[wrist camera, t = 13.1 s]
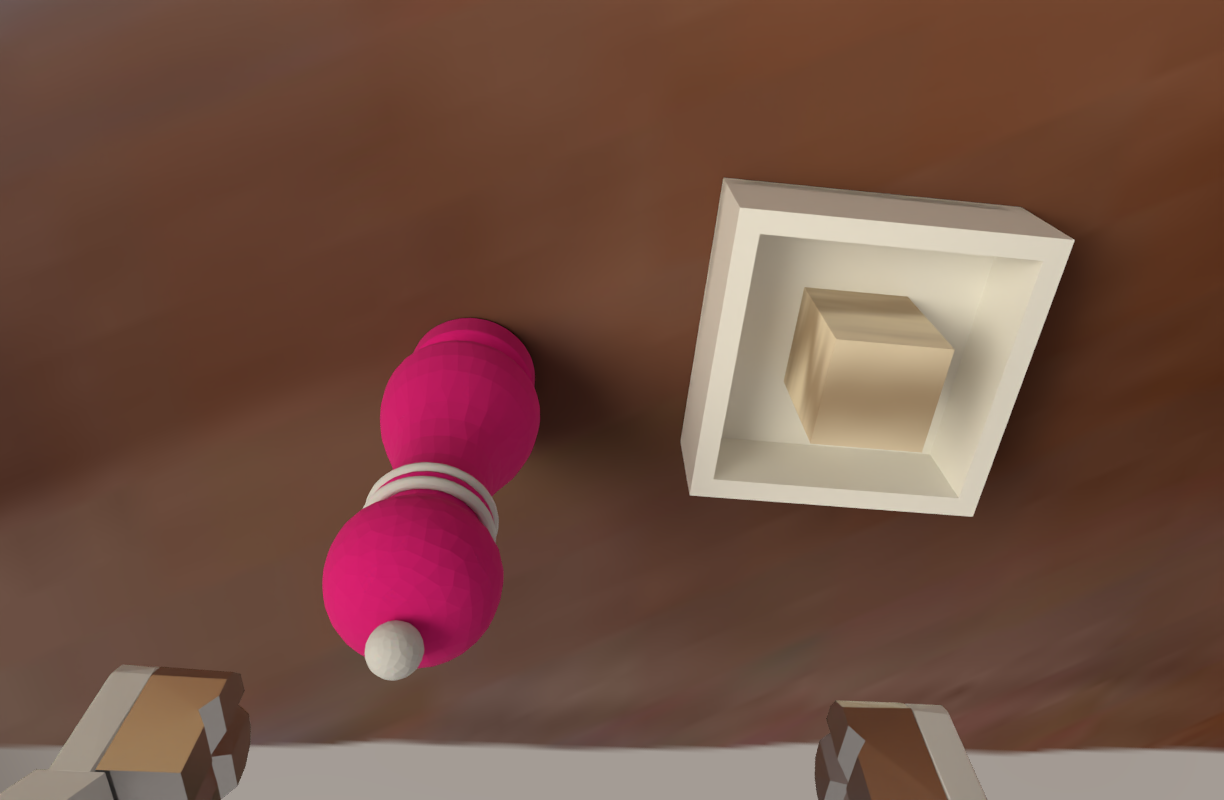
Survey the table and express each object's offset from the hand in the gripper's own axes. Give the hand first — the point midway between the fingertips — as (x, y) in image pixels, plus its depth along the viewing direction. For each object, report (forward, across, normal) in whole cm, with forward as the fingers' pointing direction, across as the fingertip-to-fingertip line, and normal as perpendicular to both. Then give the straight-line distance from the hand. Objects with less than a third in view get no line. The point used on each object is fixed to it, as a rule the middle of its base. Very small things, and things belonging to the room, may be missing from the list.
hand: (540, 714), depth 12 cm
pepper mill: (+30, +5, +11) cm, 32 cm away
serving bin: (+30, -13, +7) cm, 34 cm away
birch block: (+29, -13, +7) cm, 33 cm away
